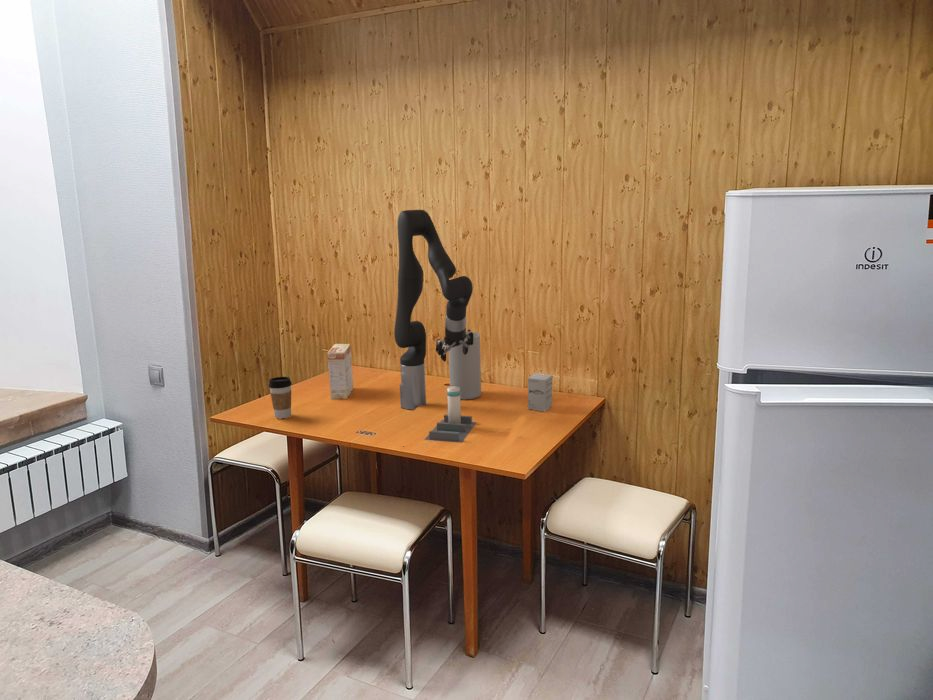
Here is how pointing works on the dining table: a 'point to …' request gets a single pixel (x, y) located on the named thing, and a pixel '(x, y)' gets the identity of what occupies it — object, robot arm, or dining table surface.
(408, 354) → the robot arm
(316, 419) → the dining table surface
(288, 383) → the coffee cup
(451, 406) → the white bottle teal band
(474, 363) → the cylinder vase
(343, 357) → the coffeecake box
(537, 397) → the supplement box
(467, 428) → the grey twin-rail base
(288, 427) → the dining table surface
